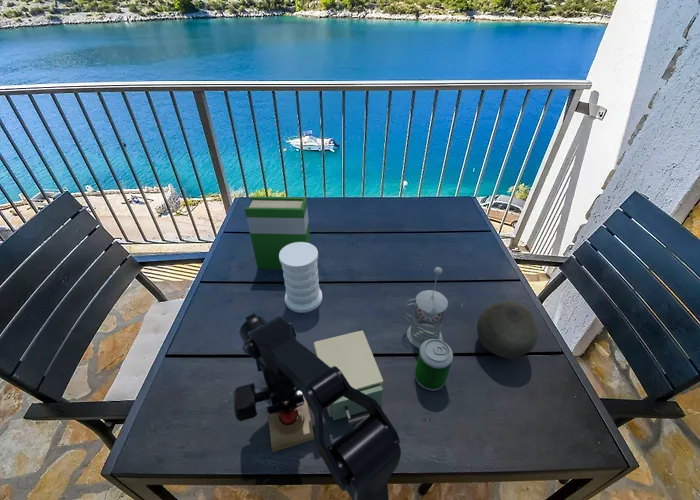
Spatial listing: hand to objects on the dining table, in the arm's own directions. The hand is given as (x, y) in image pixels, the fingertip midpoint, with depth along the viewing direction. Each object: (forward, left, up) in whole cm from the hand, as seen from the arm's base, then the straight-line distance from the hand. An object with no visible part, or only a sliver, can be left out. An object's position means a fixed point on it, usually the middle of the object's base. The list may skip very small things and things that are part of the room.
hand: (288, 412), depth 75 cm
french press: (+14, -39, -5) cm, 42 cm away
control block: (0, 0, -5) cm, 5 cm away
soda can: (+1, -35, -5) cm, 35 cm away
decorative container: (+37, -10, -5) cm, 39 cm away
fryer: (+6, -15, -5) cm, 17 cm away
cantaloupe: (+4, -57, -5) cm, 57 cm away
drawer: (+2, -15, -4) cm, 16 cm away
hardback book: (+56, -7, -5) cm, 57 cm away
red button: (0, 0, -2) cm, 2 cm away
